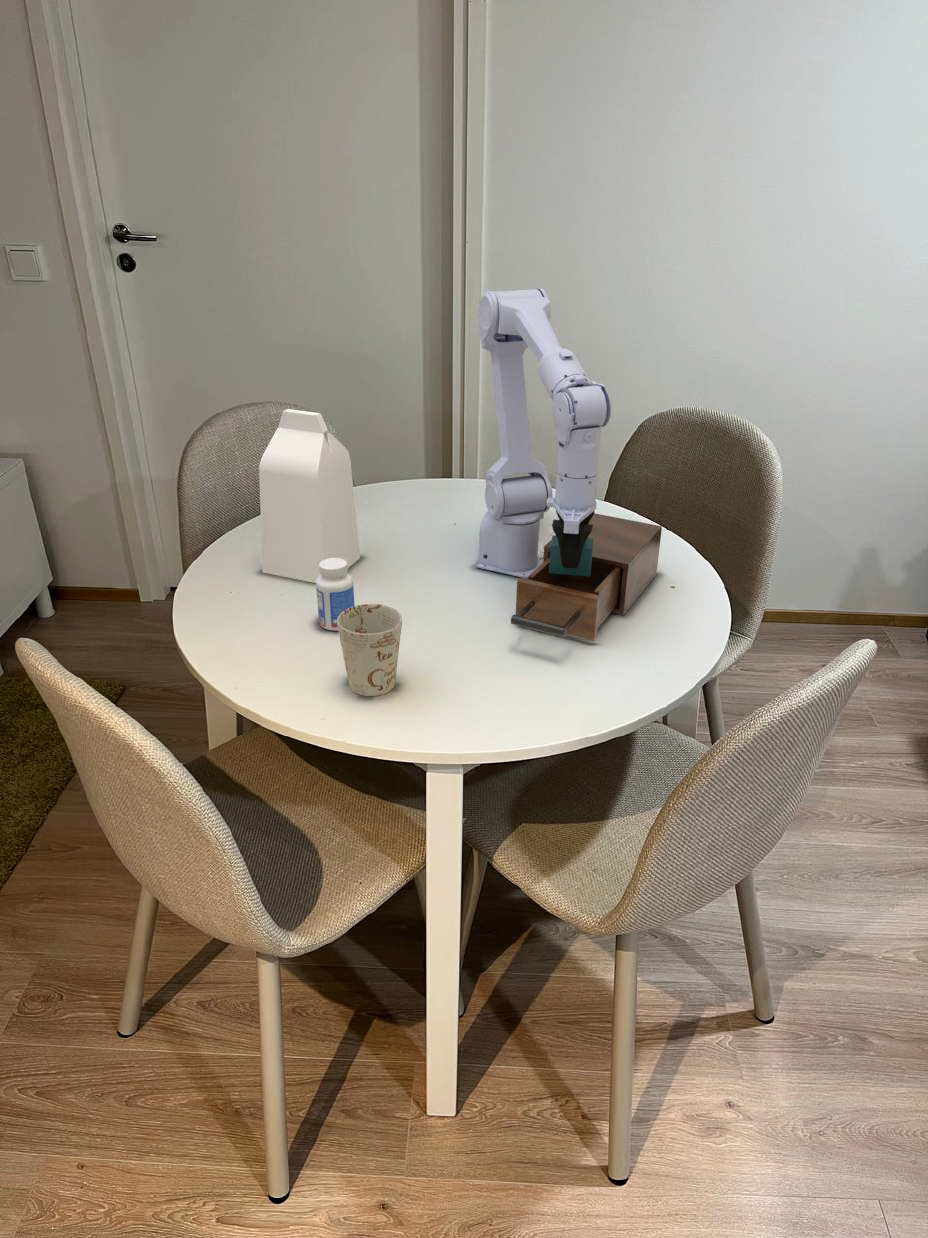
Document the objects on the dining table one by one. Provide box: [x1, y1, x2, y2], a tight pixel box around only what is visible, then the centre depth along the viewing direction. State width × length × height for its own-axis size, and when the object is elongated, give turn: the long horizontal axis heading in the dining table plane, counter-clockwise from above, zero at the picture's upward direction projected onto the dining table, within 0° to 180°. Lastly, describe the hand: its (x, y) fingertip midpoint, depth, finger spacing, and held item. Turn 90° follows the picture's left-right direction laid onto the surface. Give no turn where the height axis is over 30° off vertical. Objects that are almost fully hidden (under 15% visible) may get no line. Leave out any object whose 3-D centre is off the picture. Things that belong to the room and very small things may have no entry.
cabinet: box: [542, 512, 663, 616], centre depth 156 cm, size 17×14×9 cm
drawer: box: [510, 556, 623, 642], centre depth 144 cm, size 22×12×7 cm, turn 153°
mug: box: [337, 603, 403, 697], centre depth 130 cm, size 8×13×10 cm, turn 27°
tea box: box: [549, 534, 594, 577], centre depth 143 cm, size 6×4×4 cm, turn 81°
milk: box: [258, 408, 361, 584], centre depth 157 cm, size 12×12×26 cm
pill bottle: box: [315, 558, 356, 632], centre depth 143 cm, size 6×5×10 cm
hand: (570, 560), depth 144 cm, fingers closed on tea box, 4 cm apart
